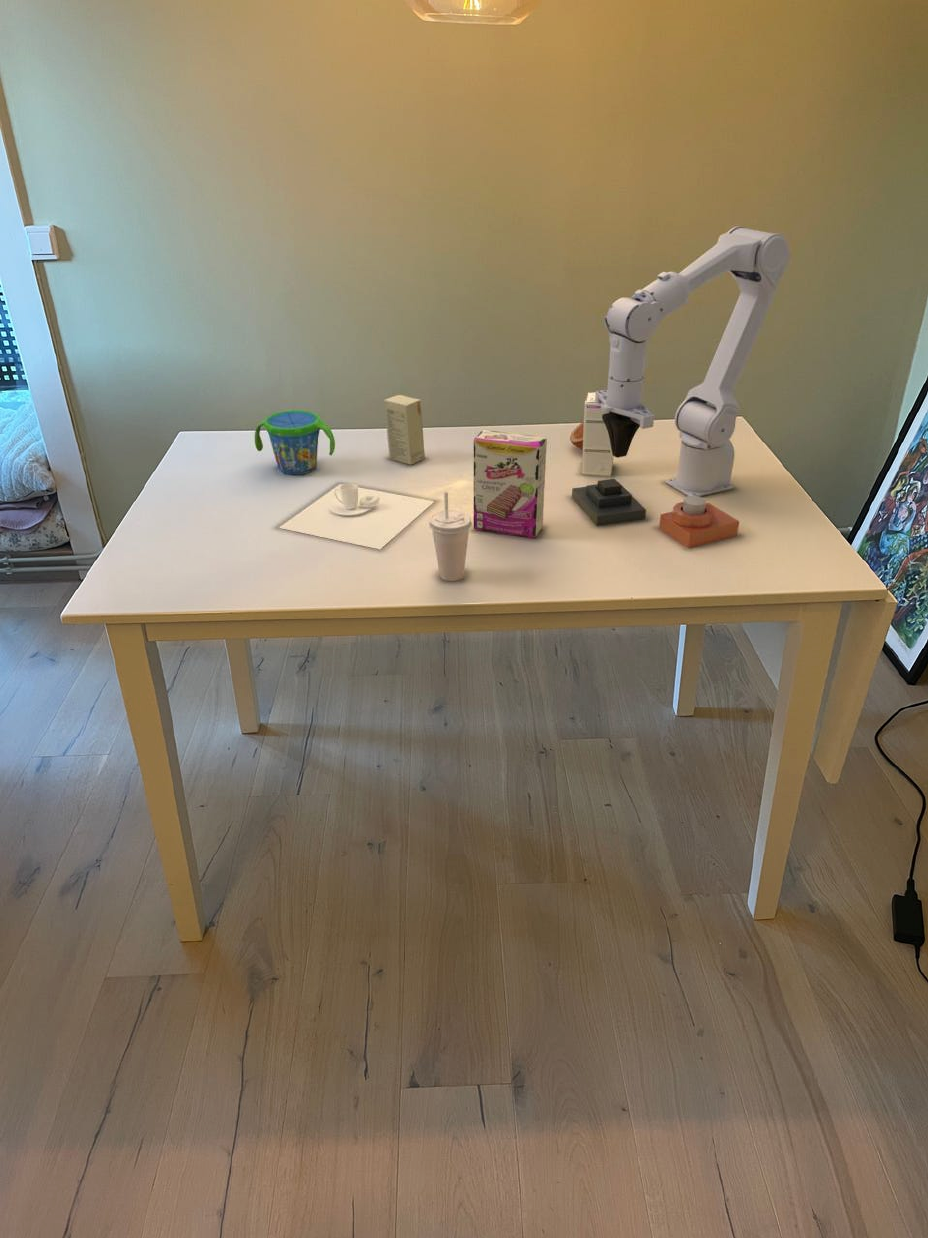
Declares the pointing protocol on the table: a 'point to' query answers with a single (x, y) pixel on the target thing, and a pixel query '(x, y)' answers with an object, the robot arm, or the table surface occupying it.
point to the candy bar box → (509, 483)
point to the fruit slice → (578, 436)
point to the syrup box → (595, 441)
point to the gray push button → (694, 505)
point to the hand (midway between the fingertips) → (619, 455)
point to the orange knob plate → (698, 525)
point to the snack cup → (294, 439)
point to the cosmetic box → (404, 429)
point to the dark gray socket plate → (608, 505)
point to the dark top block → (609, 487)
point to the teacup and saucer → (358, 515)
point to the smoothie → (450, 540)
